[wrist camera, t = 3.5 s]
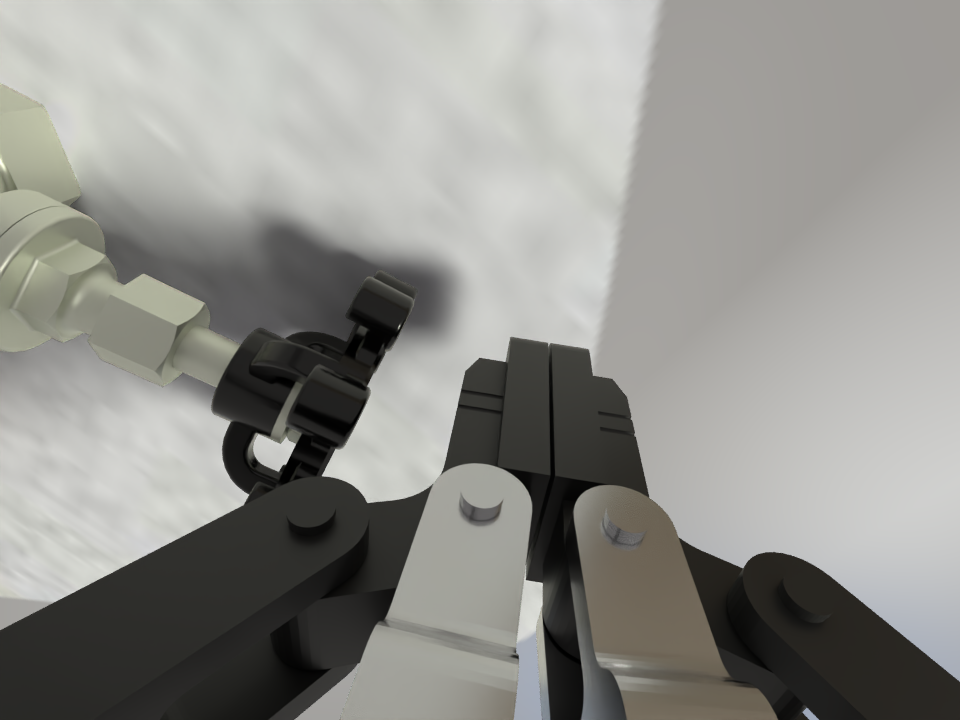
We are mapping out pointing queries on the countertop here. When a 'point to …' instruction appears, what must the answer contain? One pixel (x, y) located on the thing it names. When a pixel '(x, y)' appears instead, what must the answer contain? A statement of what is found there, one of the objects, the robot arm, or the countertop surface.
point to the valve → (176, 318)
